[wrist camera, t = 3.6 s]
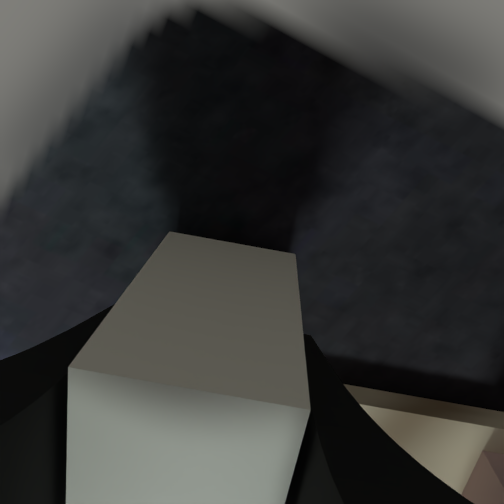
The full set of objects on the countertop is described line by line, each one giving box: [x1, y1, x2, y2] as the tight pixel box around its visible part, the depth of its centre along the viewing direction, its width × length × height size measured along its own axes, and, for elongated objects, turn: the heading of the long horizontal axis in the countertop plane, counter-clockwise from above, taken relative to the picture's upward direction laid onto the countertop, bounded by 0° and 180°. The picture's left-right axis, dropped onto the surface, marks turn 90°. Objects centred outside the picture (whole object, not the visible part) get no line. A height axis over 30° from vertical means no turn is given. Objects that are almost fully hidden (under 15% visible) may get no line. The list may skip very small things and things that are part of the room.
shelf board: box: [344, 384, 504, 494], centre depth 16 cm, size 18×7×3 cm, turn 81°
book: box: [66, 231, 311, 504], centre depth 11 cm, size 4×4×7 cm
